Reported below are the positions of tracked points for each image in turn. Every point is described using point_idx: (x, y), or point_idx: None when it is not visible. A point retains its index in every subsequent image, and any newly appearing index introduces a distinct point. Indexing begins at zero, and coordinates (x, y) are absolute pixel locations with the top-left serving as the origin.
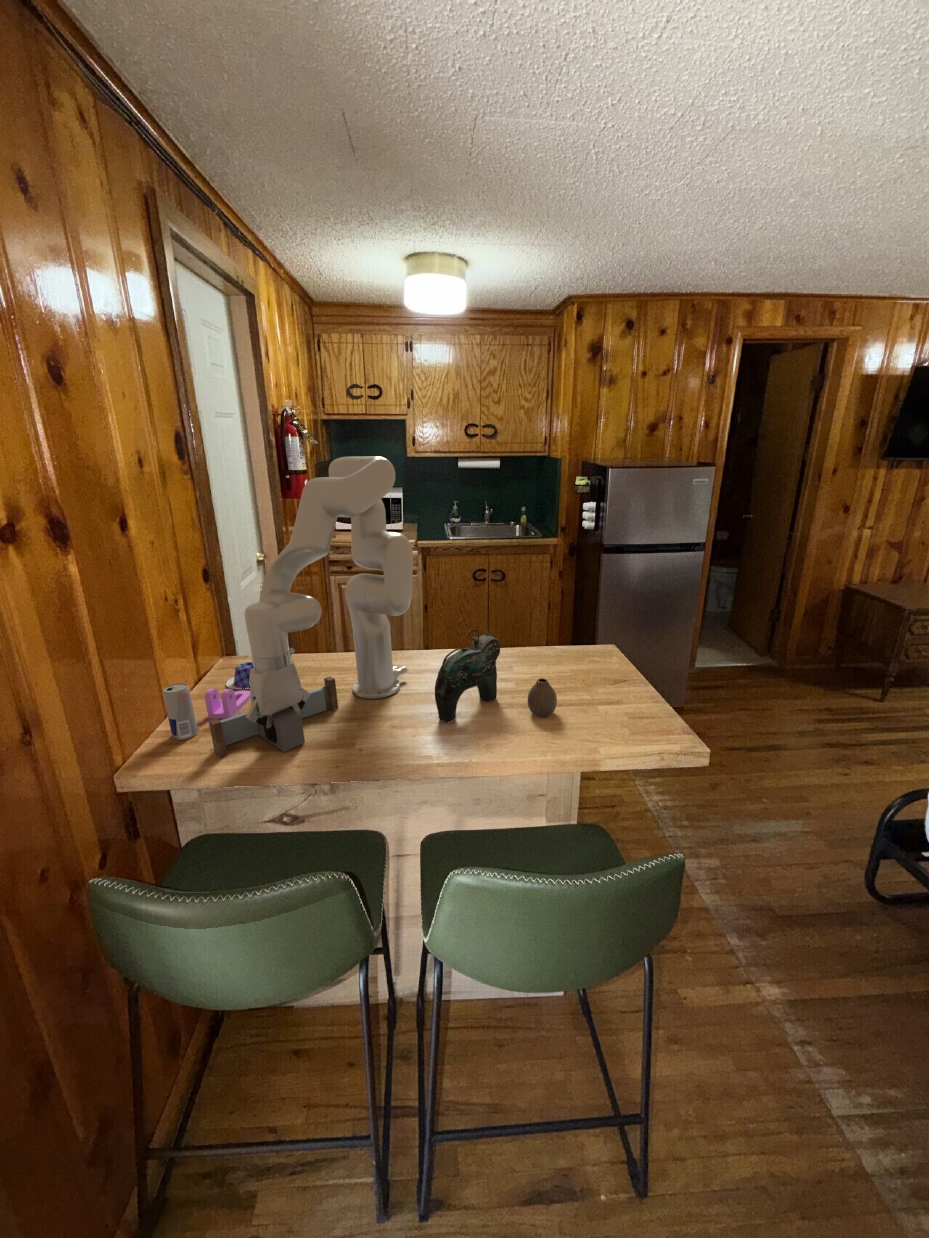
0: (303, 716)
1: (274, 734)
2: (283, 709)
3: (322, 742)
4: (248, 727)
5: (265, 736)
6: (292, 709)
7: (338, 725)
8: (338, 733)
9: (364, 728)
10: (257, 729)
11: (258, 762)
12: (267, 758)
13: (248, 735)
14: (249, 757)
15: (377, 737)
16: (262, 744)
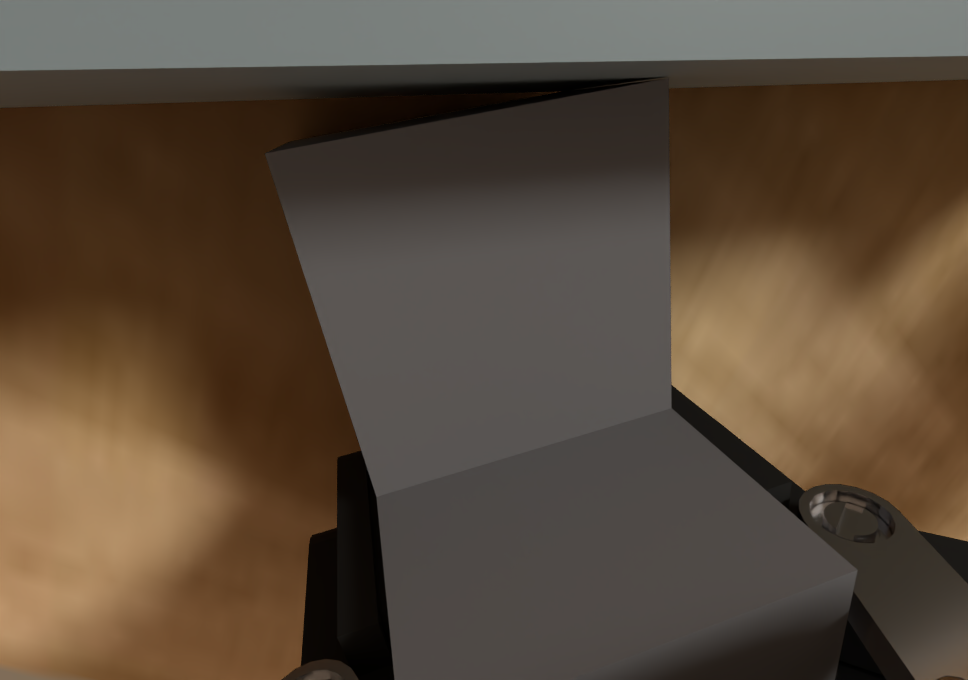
0: (841, 82)
1: None
2: (752, 666)
3: None
4: (95, 95)
5: (311, 541)
6: None
7: (879, 389)
8: None
9: (921, 505)
10: (274, 96)
11: (192, 619)
12: (278, 592)
13: (125, 103)
14: (114, 520)
15: None
16: (285, 348)
